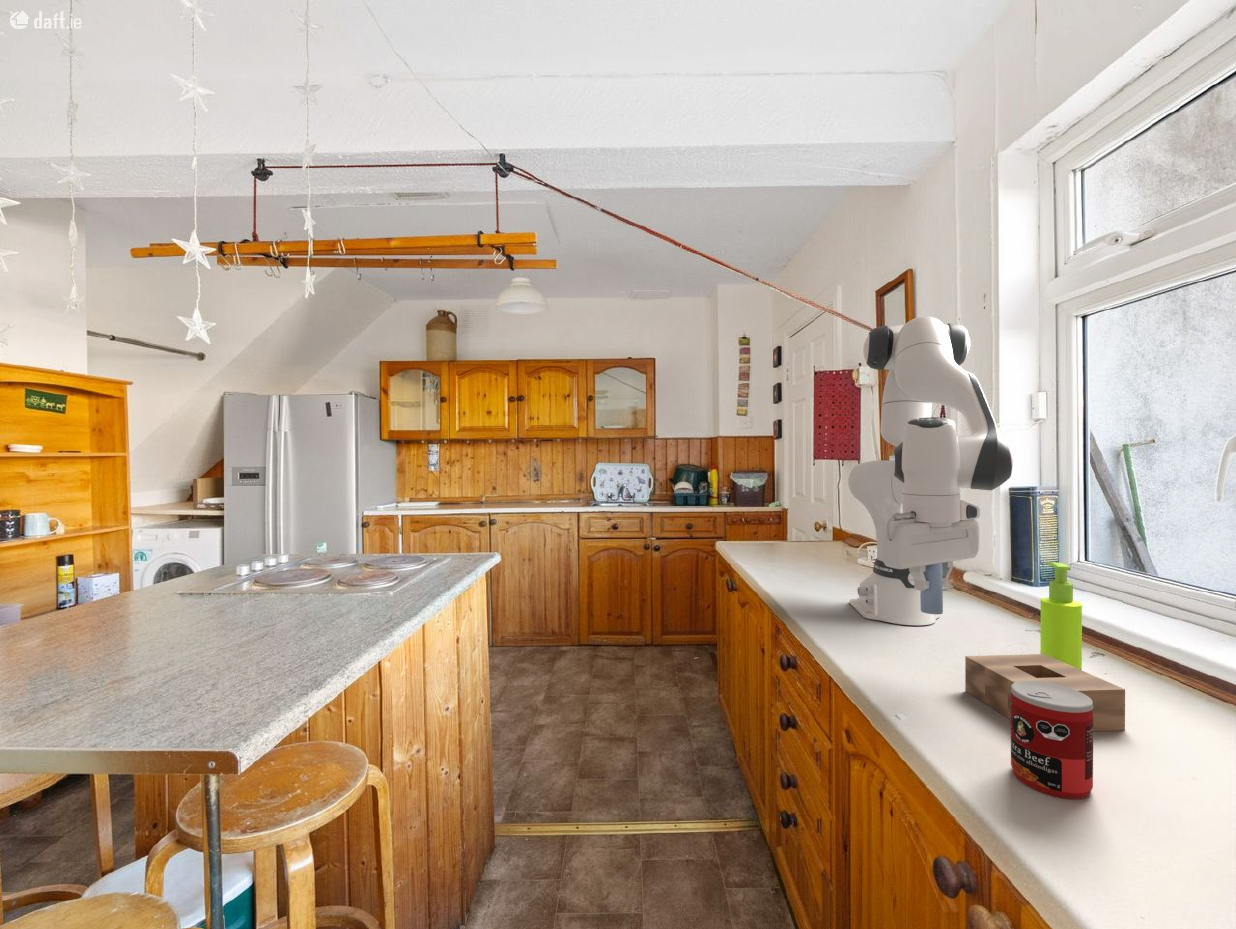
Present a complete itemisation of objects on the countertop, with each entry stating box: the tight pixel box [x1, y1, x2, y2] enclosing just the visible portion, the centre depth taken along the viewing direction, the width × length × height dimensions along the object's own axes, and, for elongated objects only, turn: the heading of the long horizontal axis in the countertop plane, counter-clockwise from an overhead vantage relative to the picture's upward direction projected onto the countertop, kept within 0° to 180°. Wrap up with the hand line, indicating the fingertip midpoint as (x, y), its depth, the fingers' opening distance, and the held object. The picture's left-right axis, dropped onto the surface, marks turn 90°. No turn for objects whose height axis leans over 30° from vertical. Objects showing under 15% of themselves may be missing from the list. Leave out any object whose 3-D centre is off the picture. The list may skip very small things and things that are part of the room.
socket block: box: [964, 653, 1126, 732], centre depth 85 cm, size 14×14×6 cm
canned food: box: [1010, 681, 1094, 800], centre depth 66 cm, size 8×8×11 cm
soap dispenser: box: [1039, 561, 1083, 671], centre depth 99 cm, size 6×7×20 cm
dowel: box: [920, 562, 944, 615], centre depth 94 cm, size 3×3×11 cm
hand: (931, 588), depth 94 cm, fingers closed on dowel, 3 cm apart
